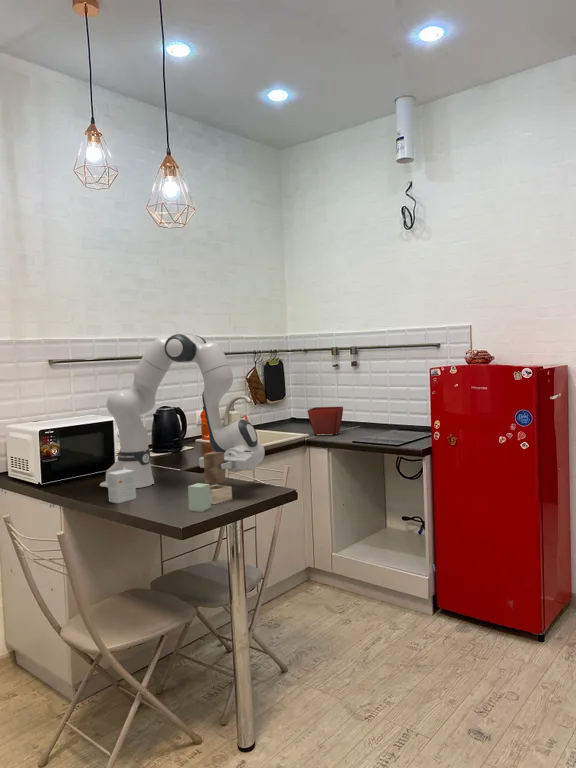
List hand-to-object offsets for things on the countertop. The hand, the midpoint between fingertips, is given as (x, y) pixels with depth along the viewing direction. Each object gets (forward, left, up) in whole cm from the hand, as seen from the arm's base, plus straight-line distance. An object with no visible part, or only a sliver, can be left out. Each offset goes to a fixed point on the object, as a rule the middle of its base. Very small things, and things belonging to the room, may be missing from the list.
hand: (212, 466), depth 201 cm
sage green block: (+1, -10, -12) cm, 16 cm away
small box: (-34, -9, -12) cm, 37 cm away
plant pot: (-36, +170, -13) cm, 174 cm away
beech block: (0, +1, -12) cm, 13 cm away
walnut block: (0, +1, -5) cm, 6 cm away
